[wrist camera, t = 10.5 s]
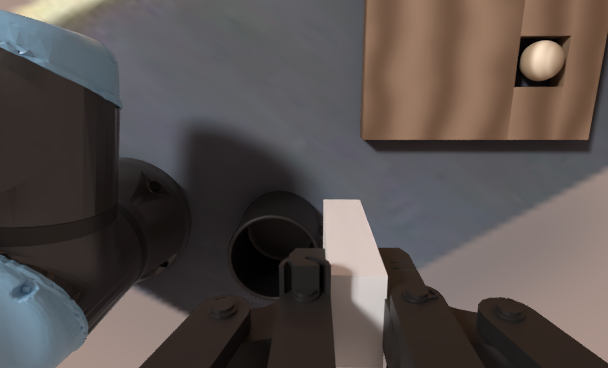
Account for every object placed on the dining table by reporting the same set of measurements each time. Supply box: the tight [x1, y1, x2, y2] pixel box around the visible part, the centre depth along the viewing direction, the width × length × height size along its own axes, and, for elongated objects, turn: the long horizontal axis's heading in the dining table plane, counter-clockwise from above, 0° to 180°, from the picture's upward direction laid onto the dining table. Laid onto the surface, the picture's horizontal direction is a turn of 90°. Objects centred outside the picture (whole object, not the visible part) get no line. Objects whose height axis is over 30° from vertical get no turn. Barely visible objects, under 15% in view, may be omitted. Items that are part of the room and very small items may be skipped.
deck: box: [360, 0, 608, 140], centre depth 41 cm, size 24×16×2 cm, turn 90°
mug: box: [228, 191, 323, 300], centre depth 43 cm, size 9×12×9 cm
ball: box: [519, 40, 565, 81], centre depth 40 cm, size 4×4×4 cm
